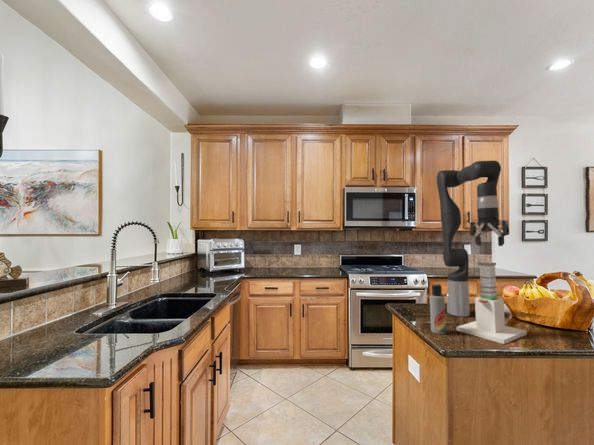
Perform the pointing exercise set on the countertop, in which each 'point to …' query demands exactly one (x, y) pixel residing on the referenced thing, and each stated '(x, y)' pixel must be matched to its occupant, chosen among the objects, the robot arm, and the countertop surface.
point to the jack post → (488, 280)
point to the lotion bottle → (437, 310)
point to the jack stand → (491, 322)
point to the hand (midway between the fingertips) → (489, 245)
